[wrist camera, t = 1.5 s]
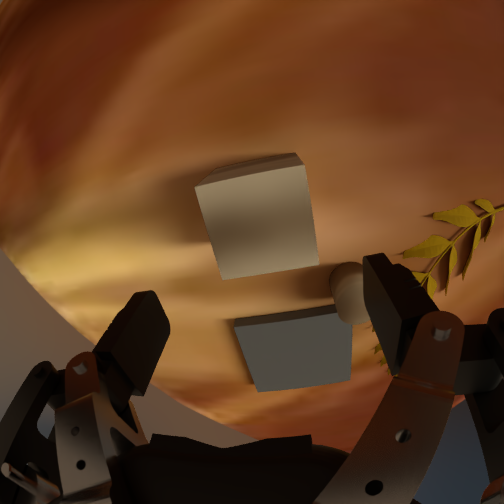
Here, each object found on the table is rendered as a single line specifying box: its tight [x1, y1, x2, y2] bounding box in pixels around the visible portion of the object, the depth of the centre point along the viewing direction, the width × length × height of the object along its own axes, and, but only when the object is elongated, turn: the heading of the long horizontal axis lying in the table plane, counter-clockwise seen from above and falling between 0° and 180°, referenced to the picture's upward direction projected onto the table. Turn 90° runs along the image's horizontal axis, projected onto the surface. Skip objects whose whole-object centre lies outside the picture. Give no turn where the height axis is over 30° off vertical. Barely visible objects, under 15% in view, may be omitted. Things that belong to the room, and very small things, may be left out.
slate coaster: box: [234, 305, 352, 392], centre depth 27 cm, size 11×11×1 cm
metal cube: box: [194, 153, 319, 280], centre depth 18 cm, size 6×6×6 cm
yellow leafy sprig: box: [372, 199, 504, 377], centre depth 22 cm, size 35×2×30 cm
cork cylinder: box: [329, 262, 370, 325], centre depth 21 cm, size 4×4×4 cm
